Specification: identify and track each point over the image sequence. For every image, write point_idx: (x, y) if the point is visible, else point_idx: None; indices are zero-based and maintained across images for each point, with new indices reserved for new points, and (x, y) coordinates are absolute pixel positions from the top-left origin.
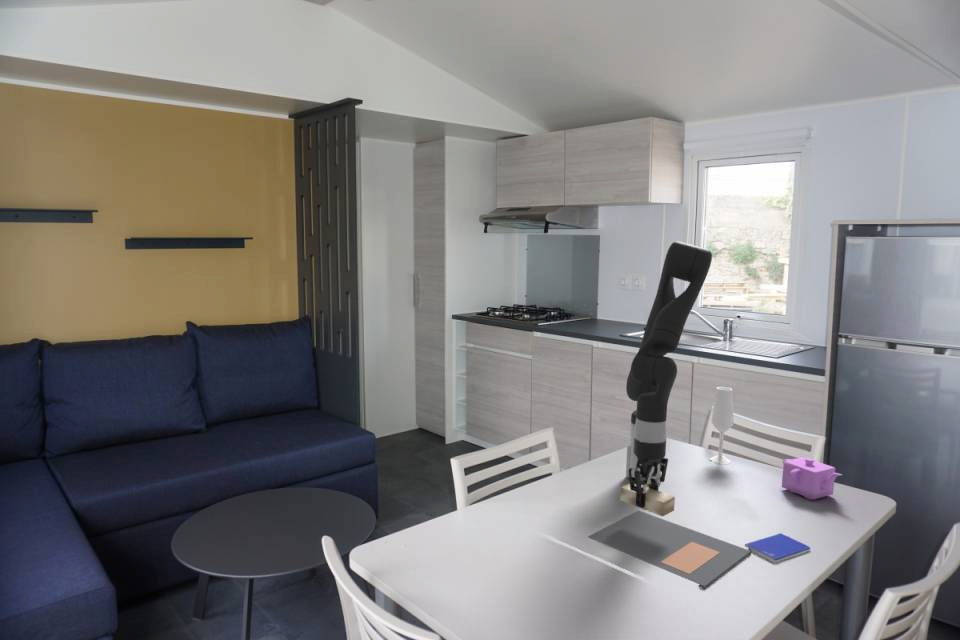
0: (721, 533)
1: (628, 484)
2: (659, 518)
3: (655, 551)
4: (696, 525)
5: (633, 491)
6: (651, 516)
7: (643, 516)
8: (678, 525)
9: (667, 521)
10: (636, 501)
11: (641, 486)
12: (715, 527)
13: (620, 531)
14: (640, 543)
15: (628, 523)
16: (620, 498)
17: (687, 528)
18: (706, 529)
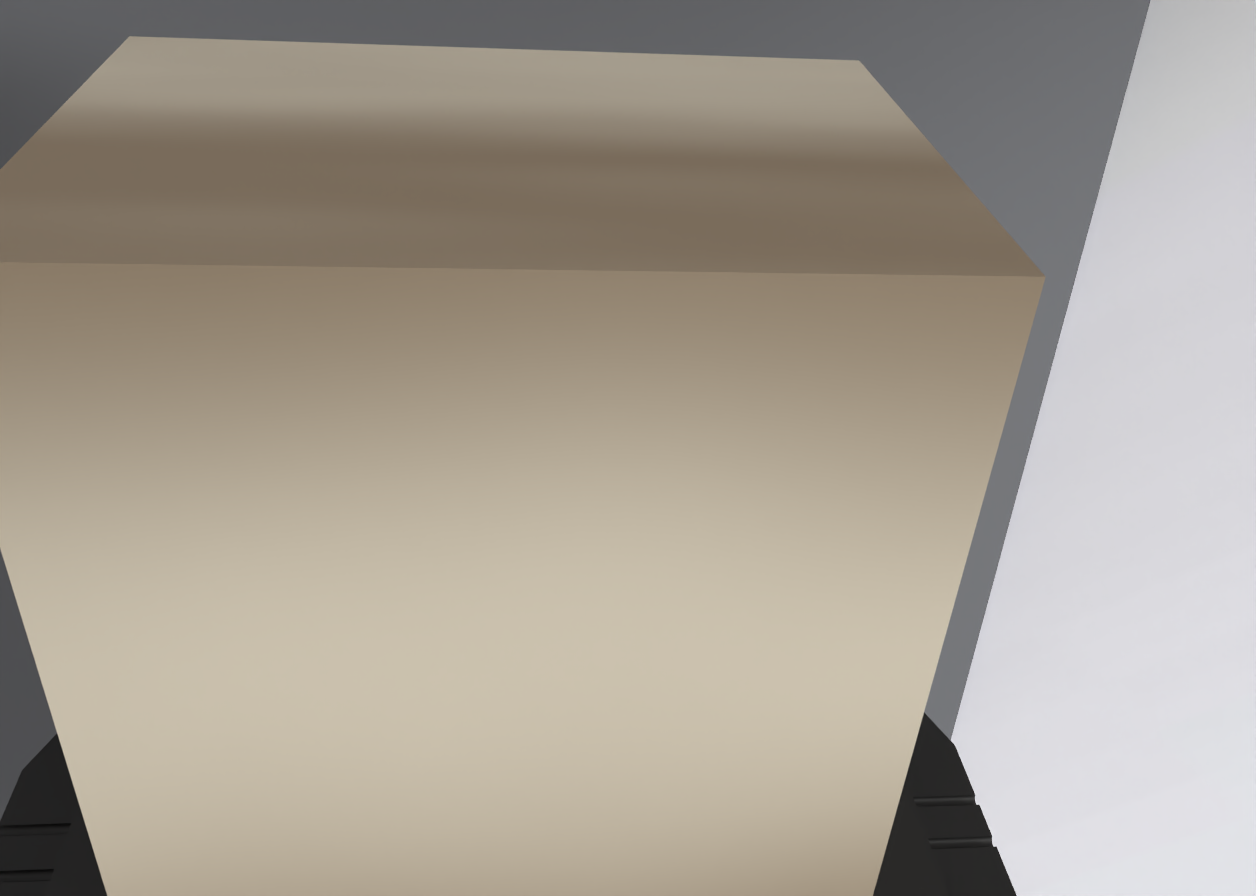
0: (1106, 876)
1: (569, 330)
2: (1055, 302)
3: (16, 775)
4: (1173, 661)
5: (100, 815)
6: (1055, 166)
7: (968, 56)
8: (970, 595)
9: (1015, 438)
10: (13, 821)
11: (791, 744)
12: (1232, 792)
13: (17, 118)
14: (1, 566)
15: (452, 25)
16: (111, 58)
17: (952, 696)
18: (1121, 765)
